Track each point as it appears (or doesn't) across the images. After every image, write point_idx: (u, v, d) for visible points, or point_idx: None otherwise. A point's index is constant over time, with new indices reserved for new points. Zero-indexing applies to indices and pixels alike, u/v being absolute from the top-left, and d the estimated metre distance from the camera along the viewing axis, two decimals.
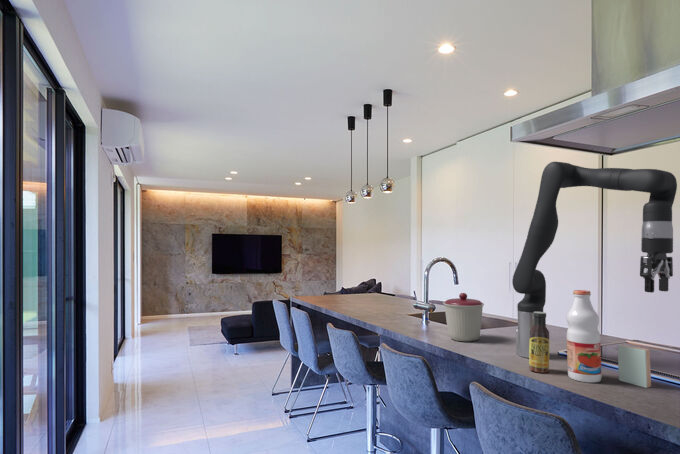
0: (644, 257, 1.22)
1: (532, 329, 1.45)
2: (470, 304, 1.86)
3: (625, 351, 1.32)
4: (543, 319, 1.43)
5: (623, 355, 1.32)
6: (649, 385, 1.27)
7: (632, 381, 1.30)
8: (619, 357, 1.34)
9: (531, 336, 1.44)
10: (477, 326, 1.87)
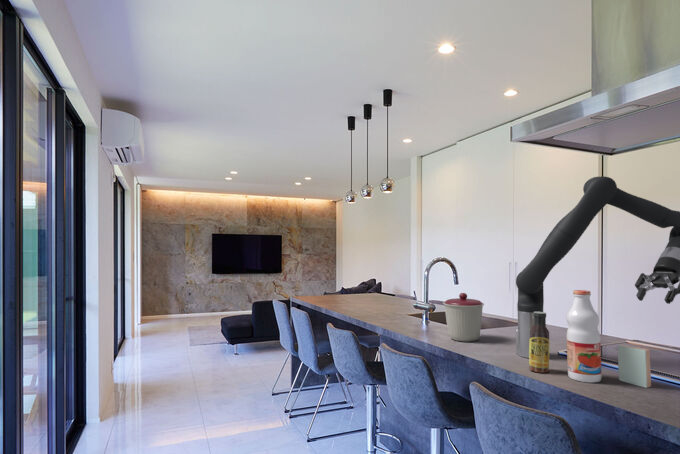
0: None
1: (532, 329, 1.45)
2: (470, 304, 1.86)
3: (625, 351, 1.32)
4: (543, 319, 1.43)
5: (623, 355, 1.32)
6: (649, 385, 1.27)
7: (632, 381, 1.30)
8: (619, 357, 1.34)
9: (531, 336, 1.44)
10: (477, 326, 1.87)
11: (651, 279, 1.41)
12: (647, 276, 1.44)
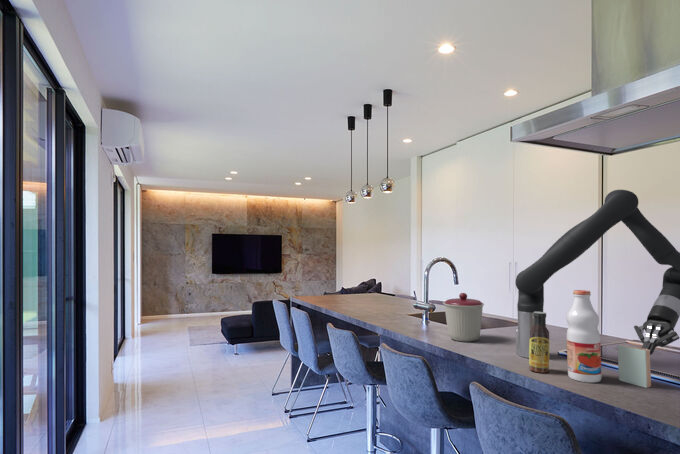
0: (677, 335, 1.31)
1: (532, 329, 1.45)
2: (470, 304, 1.86)
3: (625, 351, 1.32)
4: (543, 319, 1.43)
5: (623, 355, 1.32)
6: (649, 385, 1.27)
7: (632, 381, 1.30)
8: (619, 357, 1.34)
9: (531, 336, 1.44)
10: (477, 326, 1.87)
11: (649, 329, 1.37)
12: (641, 327, 1.41)
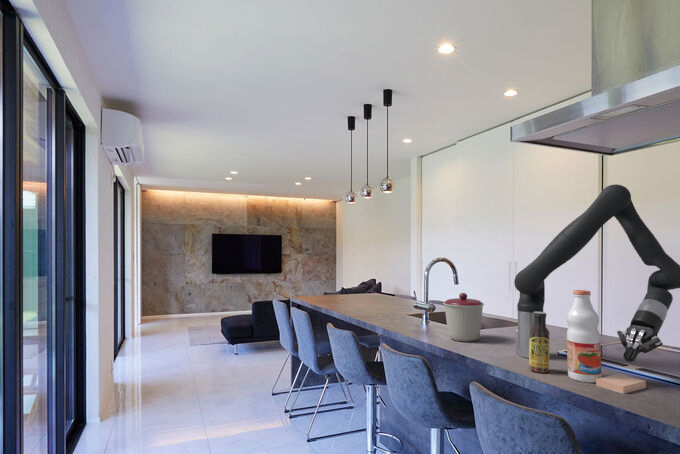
0: (660, 341, 1.27)
1: (532, 329, 1.45)
2: (470, 304, 1.86)
3: None
4: (543, 319, 1.43)
5: None
6: (644, 383, 1.26)
7: None
8: None
9: (531, 336, 1.44)
10: (477, 326, 1.87)
11: (632, 335, 1.33)
12: (624, 332, 1.37)
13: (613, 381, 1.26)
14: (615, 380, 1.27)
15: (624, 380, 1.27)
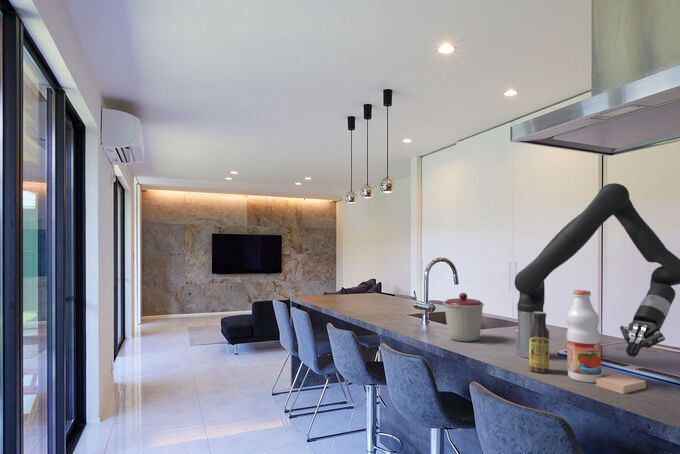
0: (662, 336, 1.28)
1: (532, 329, 1.45)
2: (470, 304, 1.86)
3: None
4: (543, 319, 1.43)
5: None
6: (644, 383, 1.26)
7: None
8: None
9: (531, 336, 1.44)
10: (477, 326, 1.87)
11: (635, 330, 1.33)
12: (627, 327, 1.37)
13: (613, 381, 1.26)
14: (615, 380, 1.27)
15: (624, 380, 1.27)
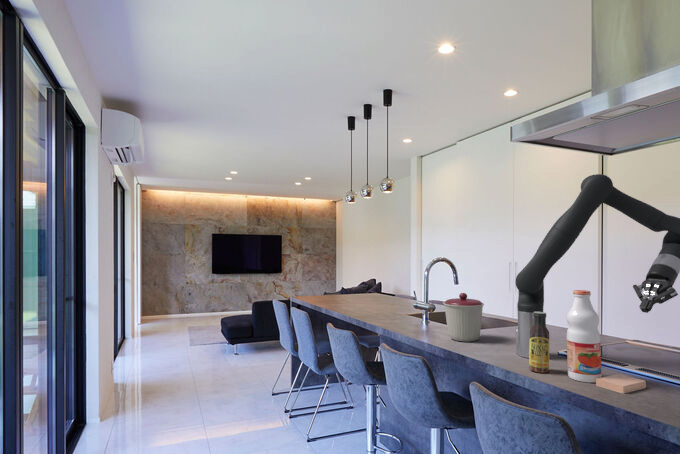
0: (675, 291, 1.32)
1: (532, 329, 1.45)
2: (470, 304, 1.86)
3: None
4: (543, 319, 1.43)
5: None
6: (644, 383, 1.26)
7: None
8: None
9: (531, 336, 1.44)
10: (477, 326, 1.87)
11: (648, 287, 1.38)
12: (640, 286, 1.42)
13: (613, 381, 1.26)
14: (615, 380, 1.27)
15: (624, 380, 1.27)
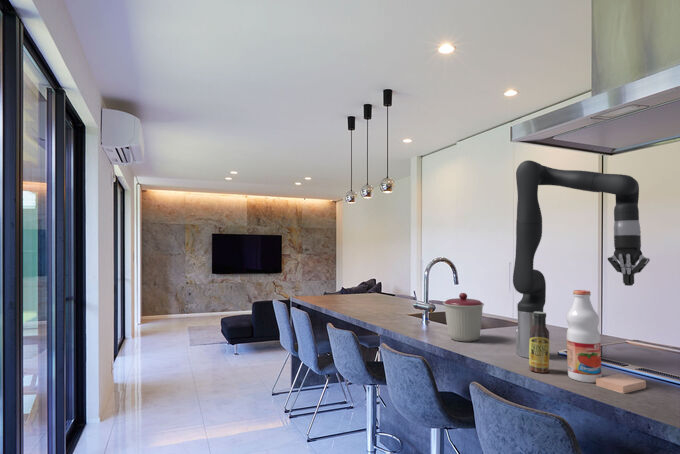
0: (647, 260, 1.38)
1: (532, 329, 1.45)
2: (470, 304, 1.86)
3: None
4: (543, 319, 1.43)
5: None
6: (645, 383, 1.26)
7: None
8: None
9: (531, 336, 1.44)
10: (477, 326, 1.87)
11: (621, 261, 1.43)
12: (613, 257, 1.47)
13: (613, 381, 1.26)
14: (615, 380, 1.27)
15: (624, 380, 1.27)
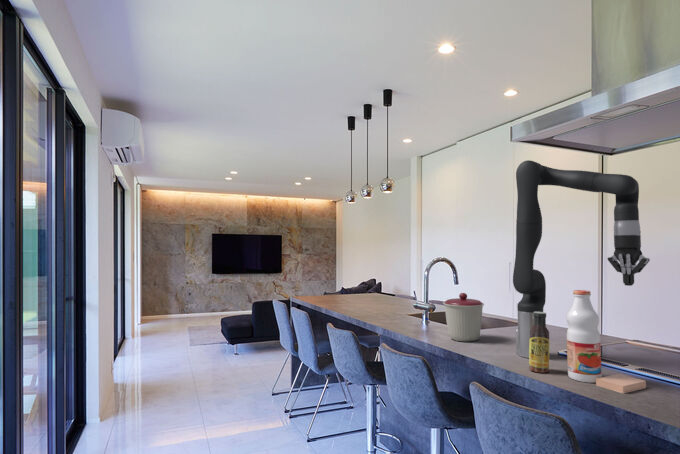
0: (646, 260, 1.38)
1: (532, 329, 1.45)
2: (470, 304, 1.86)
3: None
4: (543, 319, 1.43)
5: None
6: (645, 383, 1.26)
7: None
8: None
9: (531, 336, 1.44)
10: (477, 326, 1.87)
11: (621, 261, 1.43)
12: (613, 257, 1.47)
13: (613, 381, 1.26)
14: (615, 380, 1.27)
15: (624, 380, 1.27)
